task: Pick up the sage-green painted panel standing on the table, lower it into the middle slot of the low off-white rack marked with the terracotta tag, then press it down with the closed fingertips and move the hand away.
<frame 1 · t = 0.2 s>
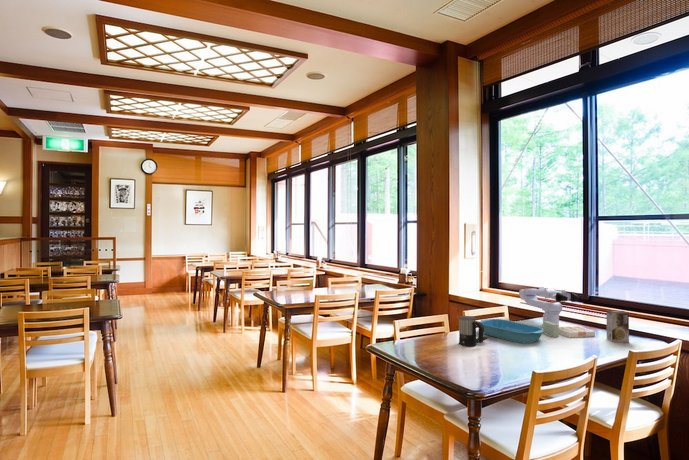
hand: (573, 298, 252), 21 cm above the table, tool horizontal, fingers open, 7 cm apart
blanking panel: (550, 334, 253), on the table
slot rack: (573, 333, 255), on the table
casserole dish: (510, 337, 249), on the table
coffee box: (617, 340, 240), on the table
milk frother: (473, 344, 235), on the table
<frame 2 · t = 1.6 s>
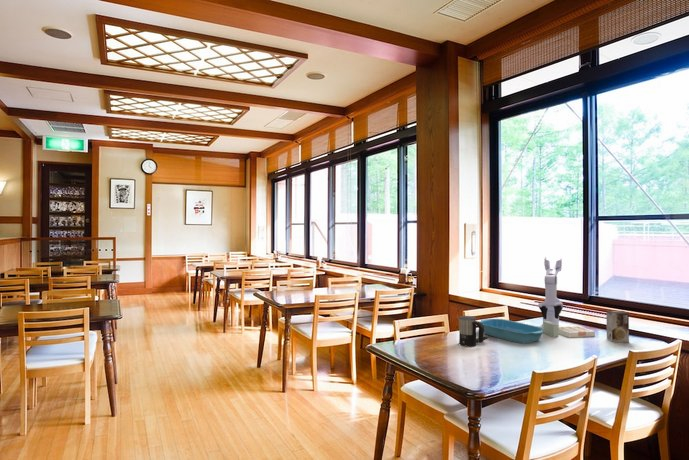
hand: (550, 318, 253), 9 cm above the table, tool pointing down, fingers open, 7 cm apart
nothing on the table moved.
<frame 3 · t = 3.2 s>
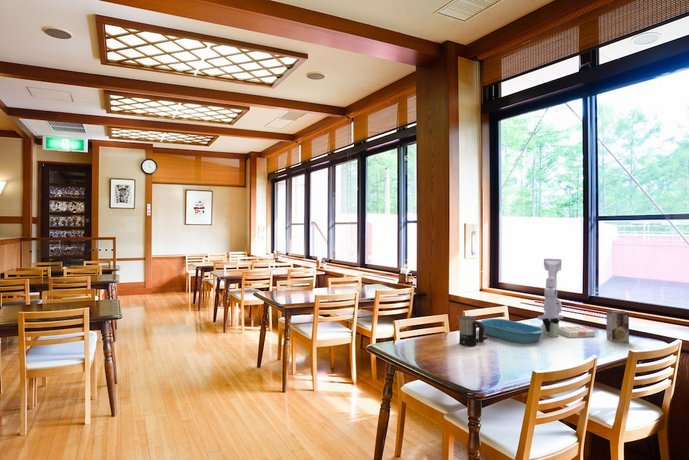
hand: (550, 331, 253), 2 cm above the table, tool pointing down, fingers closed on blanking panel, 3 cm apart
blanking panel: (550, 334, 253), on the table, touching gripper
everything else where it was.
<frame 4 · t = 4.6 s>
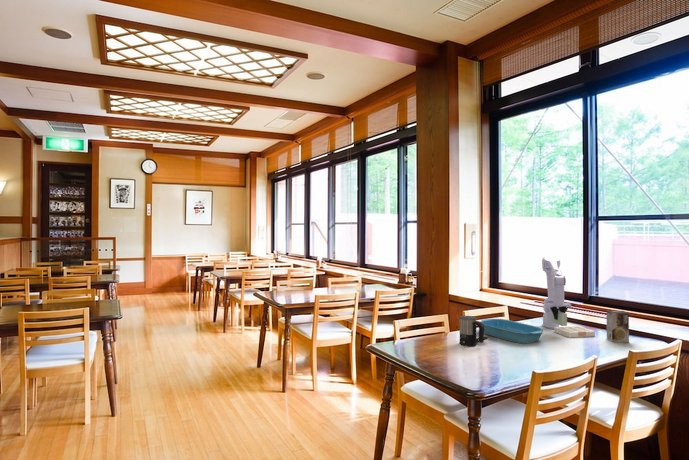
hand: (558, 319, 254), 9 cm above the table, tool pointing down, fingers closed on blanking panel, 3 cm apart
blanking panel: (559, 323, 254), point 6 cm above the table, touching gripper
everything else where it was.
when the fingers open (4 cm above the table, at t = 6.4 s): blanking panel stays where it is, resting on slot rack.
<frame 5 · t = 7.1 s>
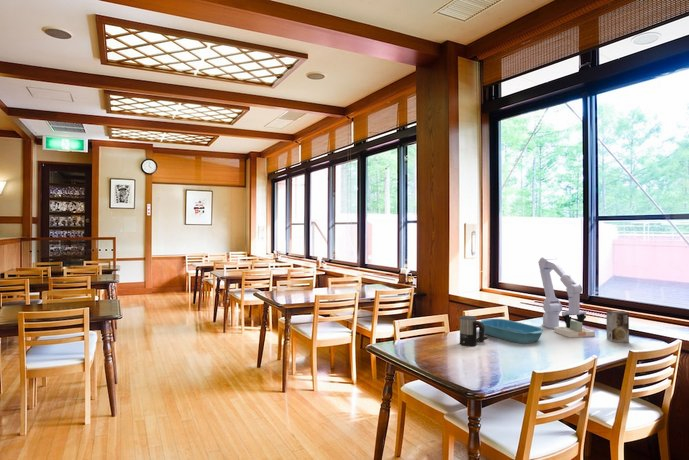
hand: (573, 327, 255), 4 cm above the table, tool pointing down, fingers open, 7 cm apart
blanking panel: (574, 332, 255), point 1 cm above the table, touching slot rack
everything else where it was.
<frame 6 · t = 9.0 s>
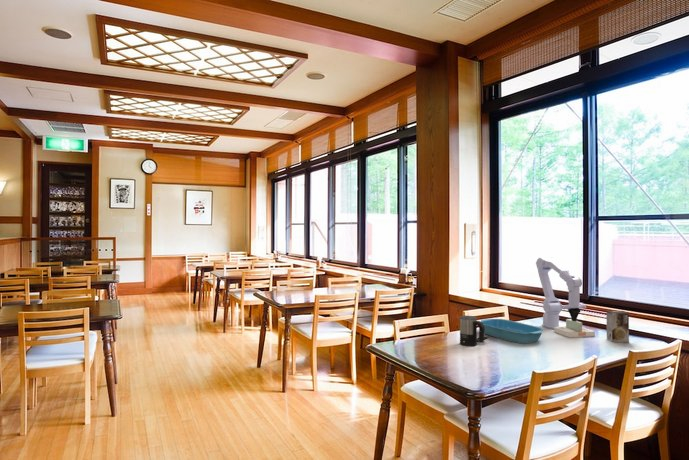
hand: (574, 321, 255), 8 cm above the table, tool pointing down, fingers closed, pressing on blanking panel
blanking panel: (574, 332, 255), point 1 cm above the table, touching gripper, slot rack
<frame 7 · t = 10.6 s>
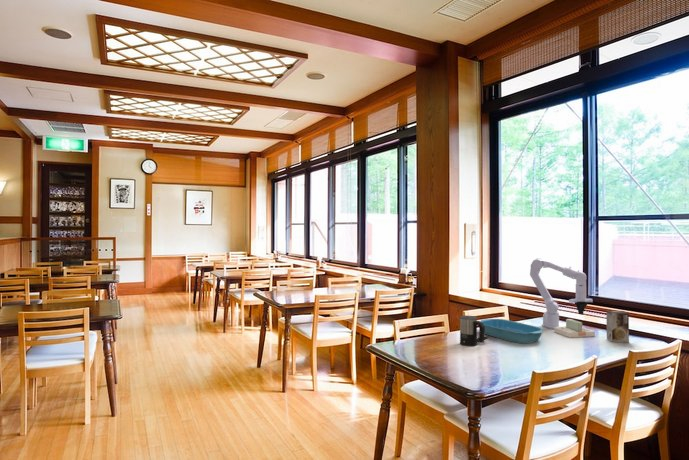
hand: (580, 314, 263), 10 cm above the table, tool pointing down, fingers closed
blanking panel: (574, 332, 255), point 1 cm above the table, touching slot rack
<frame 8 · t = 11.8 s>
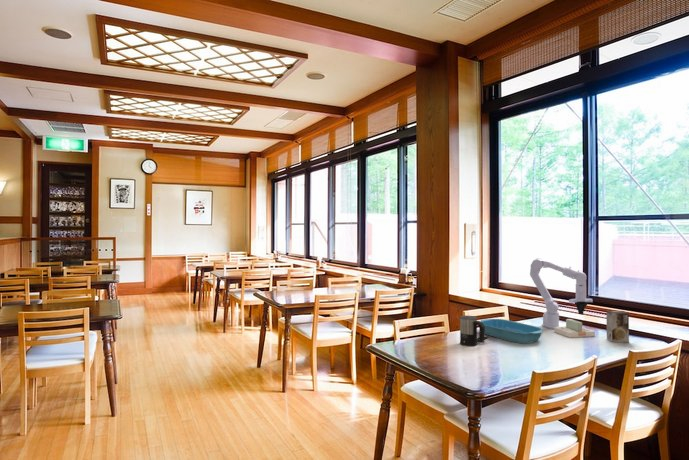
hand: (580, 314, 263), 10 cm above the table, tool pointing down, fingers closed
at the end: blanking panel 0.1 cm off-centre on the slot rack, point 0.8 cm above the slot rack's base; blanking panel tilted 0°; the gripper is holding nothing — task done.
